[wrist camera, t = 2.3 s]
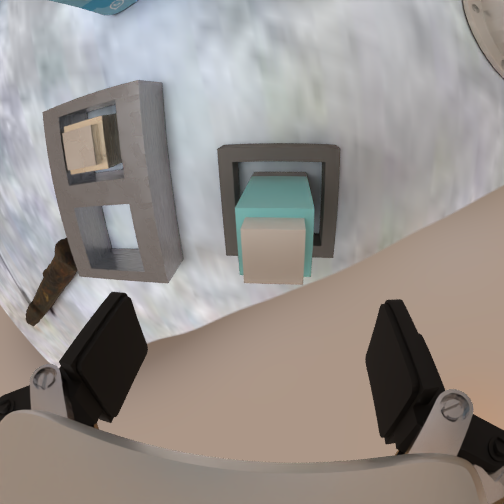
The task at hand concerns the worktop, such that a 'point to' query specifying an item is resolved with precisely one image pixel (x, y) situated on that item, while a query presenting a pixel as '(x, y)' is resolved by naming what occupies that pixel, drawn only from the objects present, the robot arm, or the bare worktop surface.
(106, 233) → the port
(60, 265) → the hand tool
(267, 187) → the plug
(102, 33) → the worktop surface
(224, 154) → the dark square frame
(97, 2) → the data package
